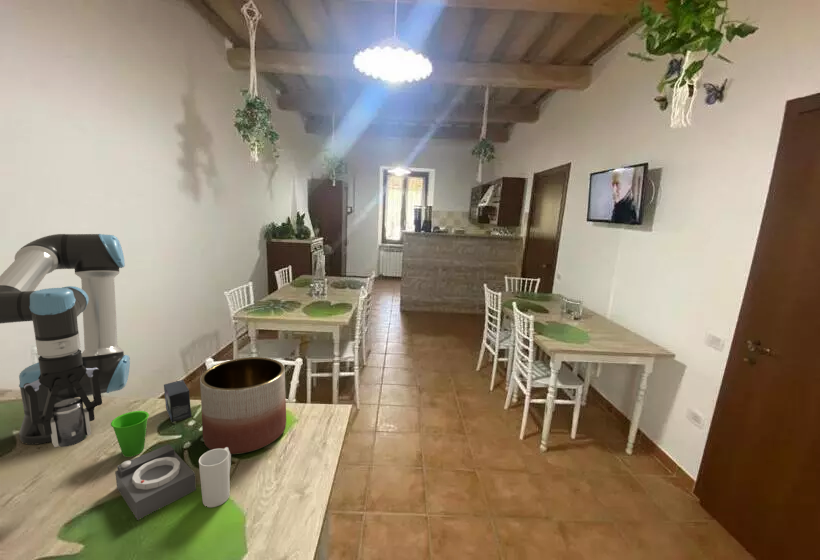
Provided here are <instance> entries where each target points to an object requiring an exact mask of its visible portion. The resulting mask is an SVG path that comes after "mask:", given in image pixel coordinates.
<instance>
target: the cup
mask: <svg viewBox="0 0 820 560" xmlns="http://www.w3.org/2000/svg"><path fill="white" fill-rule="evenodd" d="M149 417H150V414H149V413H148V411H145V410H134V411H129V412H126V413H123V414H120V415H118V416H117V417H115V418H114V419H113V420H112V421H111V422H110V427H111V428H113V431H114V434H115V438H116V439H117V442H118V446H119V448H120V450H121V453H122V456H124V457H125V458H132V457H135V456H137V455H139V454H141V453H142V452H144V449H145V443H146V435H147V434H146V433H147V425H148V418H149Z"/></svg>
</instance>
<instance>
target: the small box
mask: <svg viewBox="0 0 820 560" xmlns="http://www.w3.org/2000/svg"><path fill="white" fill-rule="evenodd" d="M163 390H164V391H163V392H164V400H165V409H166V413H167V414H168V417H169V419H170V421H171V423H175V422H178V421H182V420H186V419H189V418H191V417H192V408H191V399H190V389H189V388H188V386H187V384H186V383H185V381H184V379H181V380H176V381H172V382H169V383H165V384H163ZM188 417H189V418H188Z"/></svg>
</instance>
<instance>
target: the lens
mask: <svg viewBox="0 0 820 560" xmlns="http://www.w3.org/2000/svg"><path fill="white" fill-rule="evenodd" d="M83 409H84V403H83V402H82V400H81V398H80V397H77V398H72V399H66V400H63V401H60V402H58V403H56V404H55V406H54V410H53V419H54V421H55V424H56V431H57V438H58V445H59V446H58V447H60V448H63V447H64V448H65V447H66V448H67V447H71V446H74V445H77V444H80V443H82V442H83V441H84V440H86V439H87V437H88V436H87V433H86V426H85V418H84V410H83Z"/></svg>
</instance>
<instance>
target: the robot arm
mask: <svg viewBox="0 0 820 560" xmlns="http://www.w3.org/2000/svg"><path fill="white" fill-rule="evenodd" d="M125 263H126V262H125V257H124V252H123V249H122V245H121V243H120V240H119V238H118V237H117V236H115V235H114V234H104V233H103V234H102V233H86V234H85V233H84V234H83V233H82V234H81V233H76V234H75V233H56V234H49V235H45V236H42V237H40V238H37V239H35V240H32V241H30V242H29V243H26V244H25V245H24V246H22V247H21V248H20V249H18V251H16V253H15V255H14V260H13V262H12V263H11V264H10V265H9V266H8V267H7V268H6V269H5V271H3V273H1V275H0V324H11V323H20V322H32V325H33V331H34V339H35V340H34V341H35V346H36V352H37V353H36V354H37V355H38V362H36V363H33V364H31V365H28V366H27V367H25V368H24V369H23V370H21V371H20V373H19V375H18V377H19V378H18V379H19V384H18V387H19V390H20V394H21V400H22V401H21V402H22V407H23V412H24V413H23V414H24V416H23V419H22V422H21V426H20V430H19V431H18V432H19V433H18V434H19V440H21V441H22V442H23V443H22V442H21V441H20V442H21V443H22V444H24V443H27V444H26V445H40V444H42V445H43V444H47V443H52V445H53V448H57V447H60V446H59V445H58V438H57V431H56V424H55V421H54V419H53V410H54V406H55V404H56V403H58V402H60V401H63V400H66V399H72V398H80V399H81V400H82V402H83V406H85V407H83V410H84V418H85V426H86V433H87V437H88V436H91V435H92V430H91V422H93V421H95V417H96V416H95V409H96V408H97V407H98V406H101V405H103V399H102V394H109V393H111V392H116V391H121V390H122V389H123V390H124V388H125V387H126V386H127V382H128V380H129V379H128V378H129V374H130V364H131V361H130V360H131V359H130V355H128V354H125V353H124V349H123V348H121V347H119V345H118V328H117V327H118V323H117V310H116V308H117V307H116V290H115V278H116V277H117V276H118V275H119V274H120V269H123V268H124V267H125V266H126V265H125ZM56 270H74V275H75V276H77V277H78V278H80V279H81V288H80V287H77V286H72V285H70V286H69V285H68V286H64V287H63V286H62V287H52V288H51V287H50V288H42V289H39V290H37V287H38V286H40V284H41V282H42V281H43V280H44V279H45V277H46V276H47V275H48V274H50V273H52V272H54V271H56ZM81 314H82V323H83V343H84V350H83V351H82V350H81V348H82V347H81V341H80V333H79V332H80V331H79V326H78V325H79V323H78V317H79V316H80V315H81ZM89 396H92V398H93V400H91V401H90V399H89ZM46 442H47V443H46Z"/></svg>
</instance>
